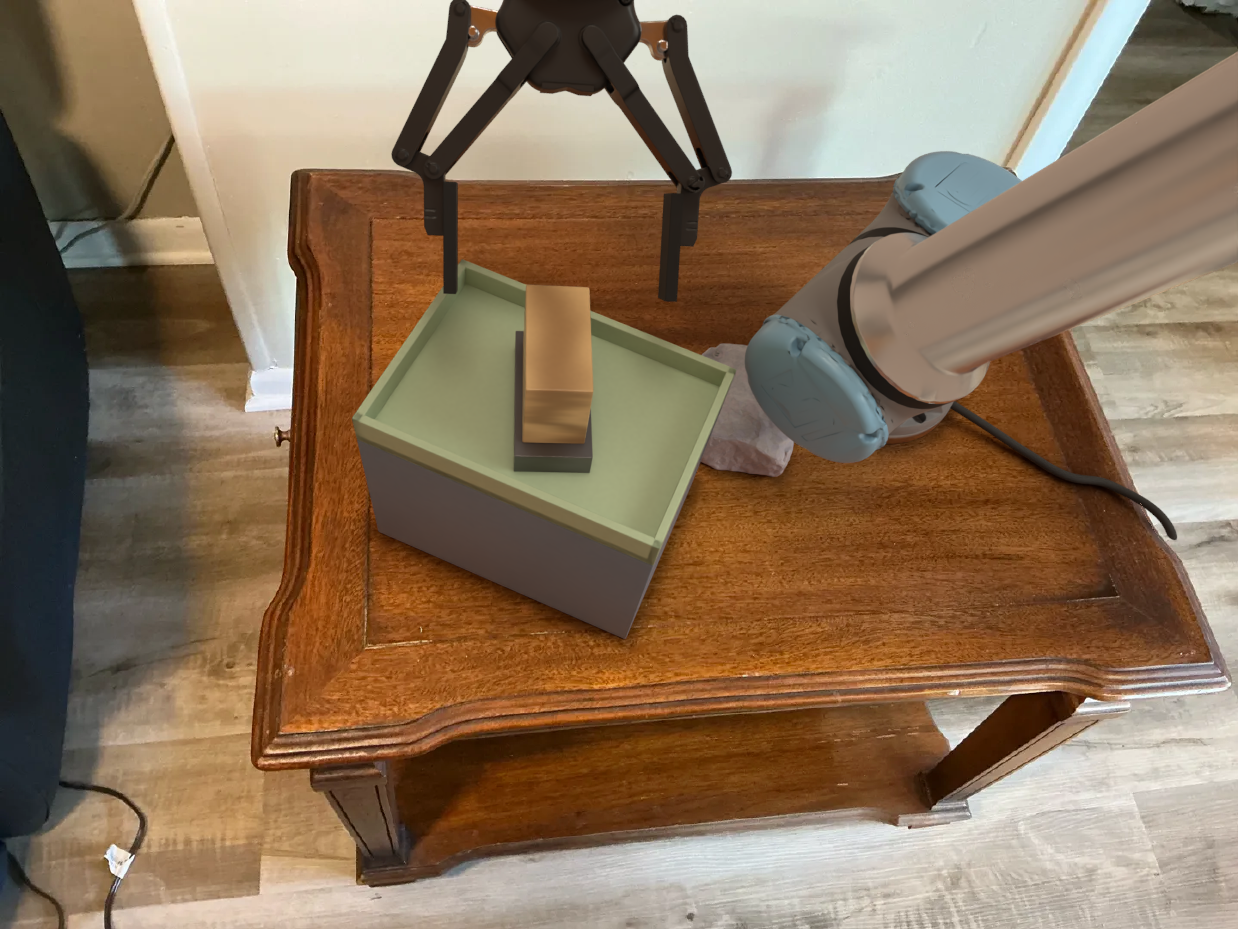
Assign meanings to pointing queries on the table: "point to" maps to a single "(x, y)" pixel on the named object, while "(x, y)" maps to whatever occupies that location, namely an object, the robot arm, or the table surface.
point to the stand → (508, 542)
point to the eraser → (554, 382)
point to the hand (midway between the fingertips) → (560, 296)
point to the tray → (484, 415)
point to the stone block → (744, 425)
